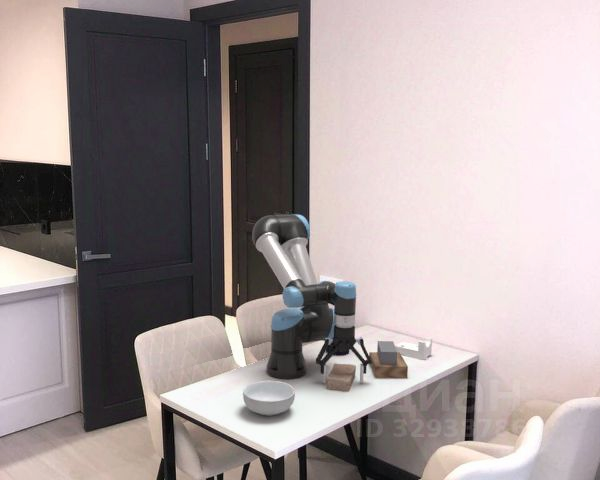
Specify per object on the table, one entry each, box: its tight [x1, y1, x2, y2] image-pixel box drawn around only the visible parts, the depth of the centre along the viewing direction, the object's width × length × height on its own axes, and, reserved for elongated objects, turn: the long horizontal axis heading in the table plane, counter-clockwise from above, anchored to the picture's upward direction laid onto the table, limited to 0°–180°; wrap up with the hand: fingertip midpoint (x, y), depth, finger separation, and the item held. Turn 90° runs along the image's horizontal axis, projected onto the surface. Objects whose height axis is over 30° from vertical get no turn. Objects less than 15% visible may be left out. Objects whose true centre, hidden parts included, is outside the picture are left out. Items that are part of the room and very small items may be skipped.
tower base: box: [368, 351, 409, 379], centre depth 251 cm, size 12×16×5 cm
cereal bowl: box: [242, 380, 296, 417], centre depth 212 cm, size 17×17×7 cm
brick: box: [326, 363, 357, 393], centre depth 238 cm, size 17×8×5 cm, turn 167°
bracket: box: [395, 336, 433, 361], centre depth 269 cm, size 13×7×8 cm, turn 54°
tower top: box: [376, 340, 397, 365], centre depth 250 cm, size 6×13×5 cm, turn 179°
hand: (343, 382), depth 238 cm, fingers open, 13 cm apart
